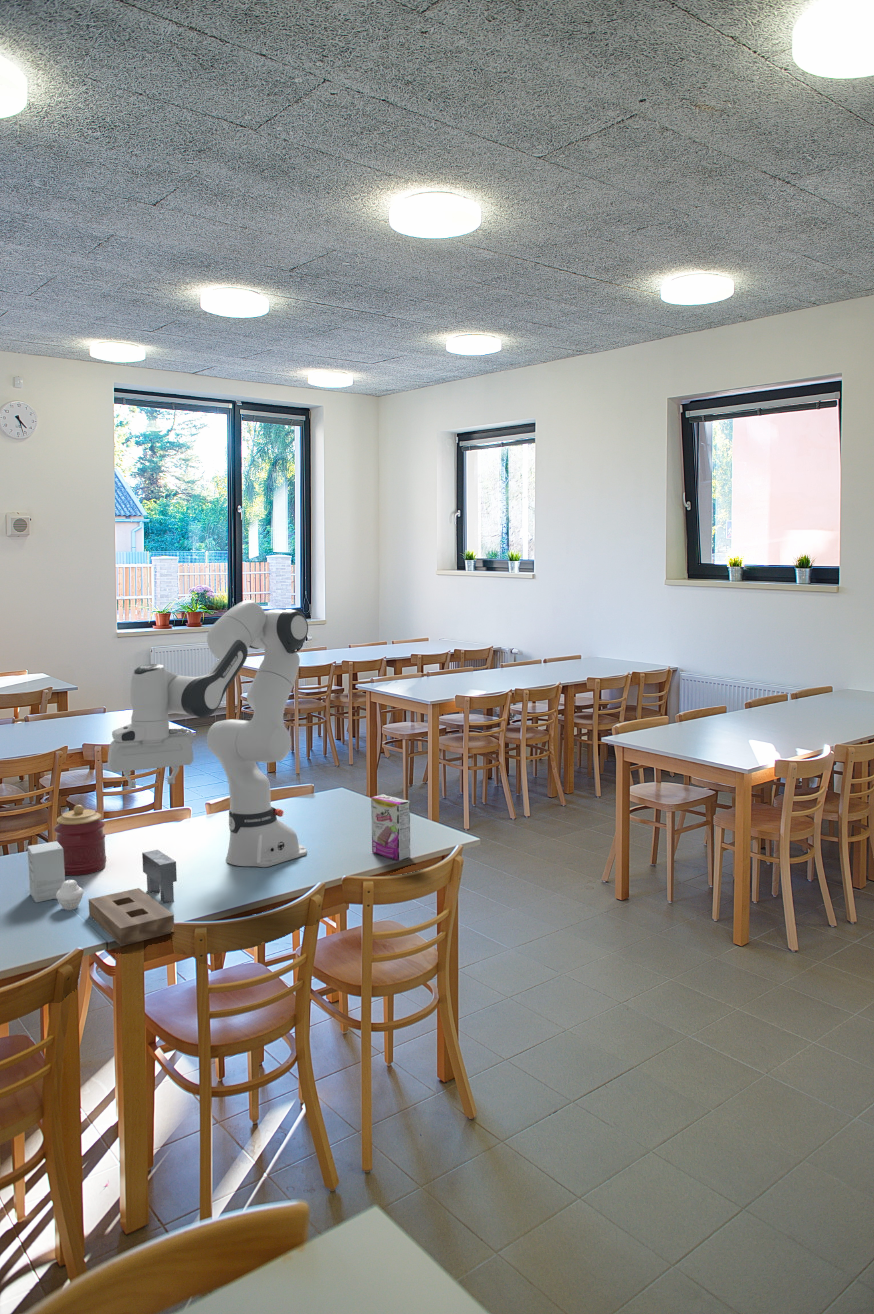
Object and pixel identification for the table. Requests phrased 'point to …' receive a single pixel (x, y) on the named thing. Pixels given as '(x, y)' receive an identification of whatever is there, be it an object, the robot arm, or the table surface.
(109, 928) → the wooden socket board
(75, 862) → the canister
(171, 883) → the grey u-shaped block
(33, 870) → the supplement box
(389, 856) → the candy bar box
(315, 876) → the table surface
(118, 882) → the table surface
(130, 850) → the table surface
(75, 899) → the muffin
